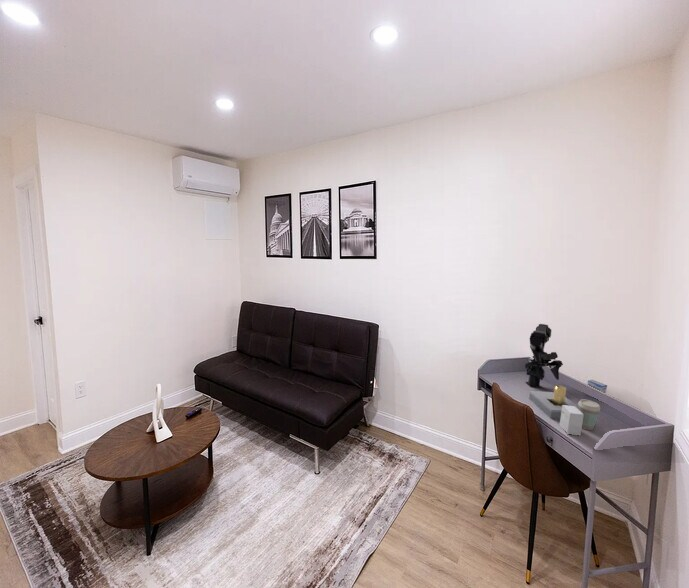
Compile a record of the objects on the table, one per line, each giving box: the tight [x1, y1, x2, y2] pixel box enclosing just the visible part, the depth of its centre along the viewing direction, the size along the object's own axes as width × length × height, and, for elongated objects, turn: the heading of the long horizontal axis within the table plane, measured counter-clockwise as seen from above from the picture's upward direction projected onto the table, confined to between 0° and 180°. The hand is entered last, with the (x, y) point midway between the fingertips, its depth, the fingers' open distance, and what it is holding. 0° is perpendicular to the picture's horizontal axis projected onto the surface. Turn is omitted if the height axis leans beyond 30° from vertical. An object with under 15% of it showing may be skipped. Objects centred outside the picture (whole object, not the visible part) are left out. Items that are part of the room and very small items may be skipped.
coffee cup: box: [577, 398, 601, 431], centre depth 153 cm, size 8×8×12 cm
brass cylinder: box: [551, 384, 567, 406], centre depth 167 cm, size 5×5×13 cm
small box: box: [559, 405, 584, 436], centre depth 149 cm, size 8×6×10 cm
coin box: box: [528, 390, 579, 420], centre depth 169 cm, size 20×16×4 cm
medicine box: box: [586, 379, 608, 393], centre depth 184 cm, size 8×4×9 cm, turn 23°
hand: (550, 379), depth 173 cm, fingers open, 9 cm apart
